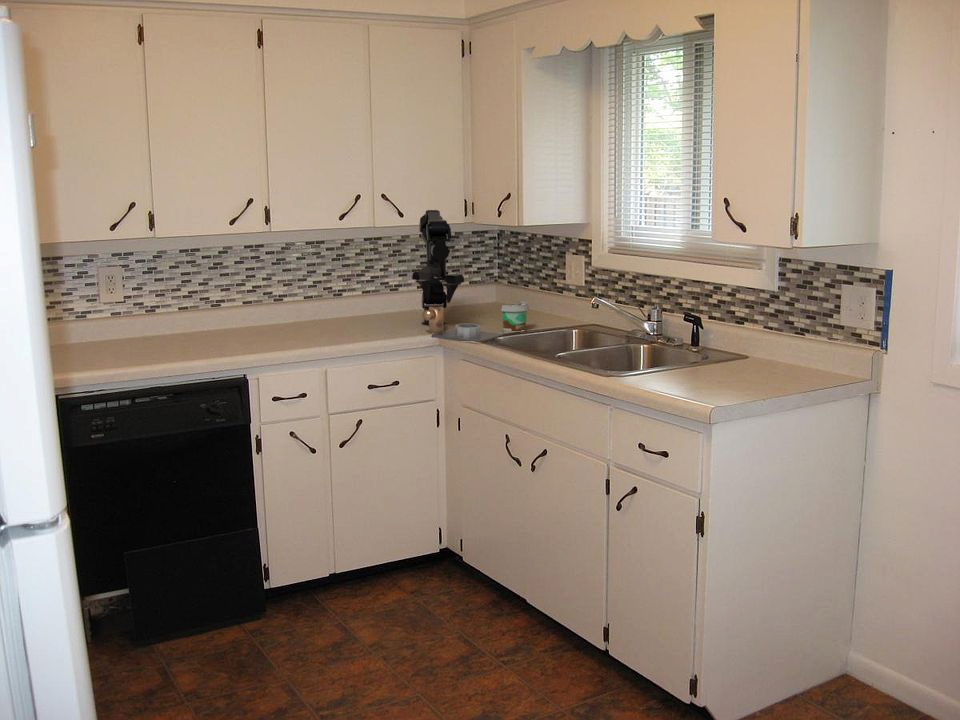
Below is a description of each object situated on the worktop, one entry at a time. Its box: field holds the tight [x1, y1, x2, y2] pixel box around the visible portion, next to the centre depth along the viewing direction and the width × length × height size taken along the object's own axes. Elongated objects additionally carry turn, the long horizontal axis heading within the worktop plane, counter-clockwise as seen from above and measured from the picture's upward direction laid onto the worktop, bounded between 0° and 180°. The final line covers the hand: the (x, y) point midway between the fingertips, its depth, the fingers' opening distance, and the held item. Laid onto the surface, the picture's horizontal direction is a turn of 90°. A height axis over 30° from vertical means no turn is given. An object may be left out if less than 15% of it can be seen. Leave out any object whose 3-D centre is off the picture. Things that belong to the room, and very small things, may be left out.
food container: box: [500, 301, 530, 332], centre depth 352 cm, size 12×6×10 cm, turn 143°
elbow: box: [421, 306, 444, 334], centre depth 348 cm, size 5×8×9 cm, turn 143°
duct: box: [431, 322, 505, 342], centre depth 342 cm, size 20×15×4 cm
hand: (437, 301), depth 348 cm, fingers open, 9 cm apart
